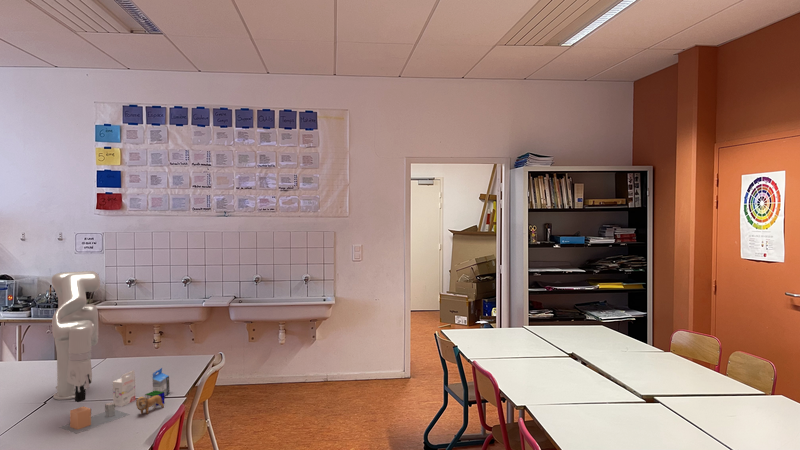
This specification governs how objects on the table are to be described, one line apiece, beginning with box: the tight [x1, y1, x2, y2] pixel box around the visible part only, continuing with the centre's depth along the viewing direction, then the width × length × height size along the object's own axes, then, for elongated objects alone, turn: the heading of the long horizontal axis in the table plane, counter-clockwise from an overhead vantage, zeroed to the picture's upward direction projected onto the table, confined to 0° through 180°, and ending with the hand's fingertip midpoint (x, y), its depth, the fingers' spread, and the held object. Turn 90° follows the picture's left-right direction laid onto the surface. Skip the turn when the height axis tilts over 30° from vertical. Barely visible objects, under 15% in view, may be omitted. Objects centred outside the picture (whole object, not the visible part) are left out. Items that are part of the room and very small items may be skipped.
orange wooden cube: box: [69, 406, 92, 430], centre depth 204 cm, size 5×5×7 cm
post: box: [104, 401, 116, 417], centre depth 214 cm, size 3×3×5 cm
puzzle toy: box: [144, 390, 165, 408], centre depth 228 cm, size 6×6×6 cm
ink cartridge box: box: [112, 369, 136, 407], centre depth 229 cm, size 9×5×15 cm, turn 168°
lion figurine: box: [135, 395, 165, 415], centre depth 220 cm, size 15×5×9 cm, turn 165°
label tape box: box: [152, 367, 171, 397], centre depth 240 cm, size 9×4×12 cm, turn 179°
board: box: [58, 409, 131, 434], centre depth 209 cm, size 12×22×1 cm, turn 151°
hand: (80, 400), depth 204 cm, fingers closed
